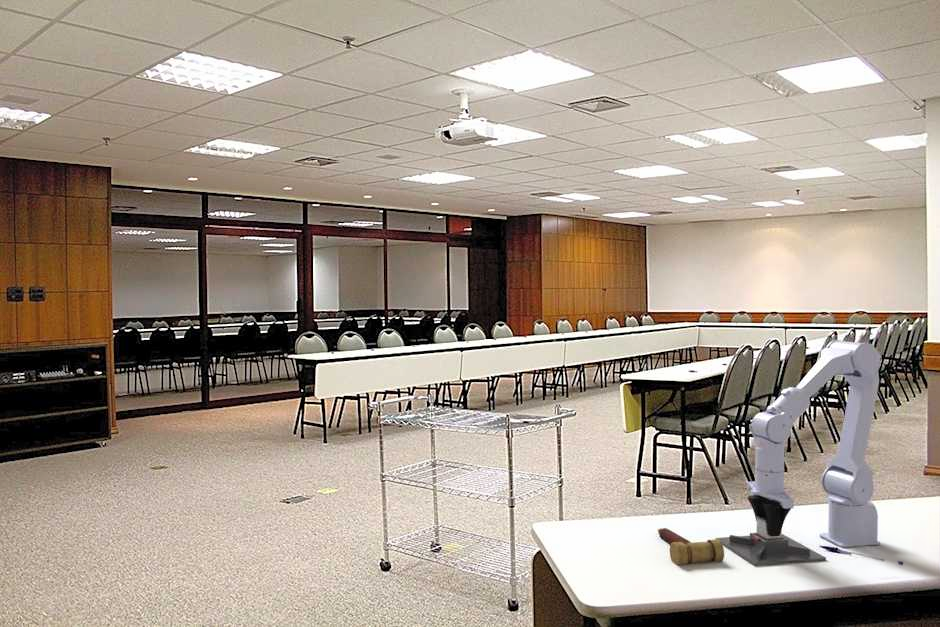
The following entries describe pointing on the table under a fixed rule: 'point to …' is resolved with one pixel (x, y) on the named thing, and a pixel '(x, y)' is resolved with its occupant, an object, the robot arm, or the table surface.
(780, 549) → the stand base
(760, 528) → the grey rectangular block
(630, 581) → the table surface
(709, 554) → the gavel
